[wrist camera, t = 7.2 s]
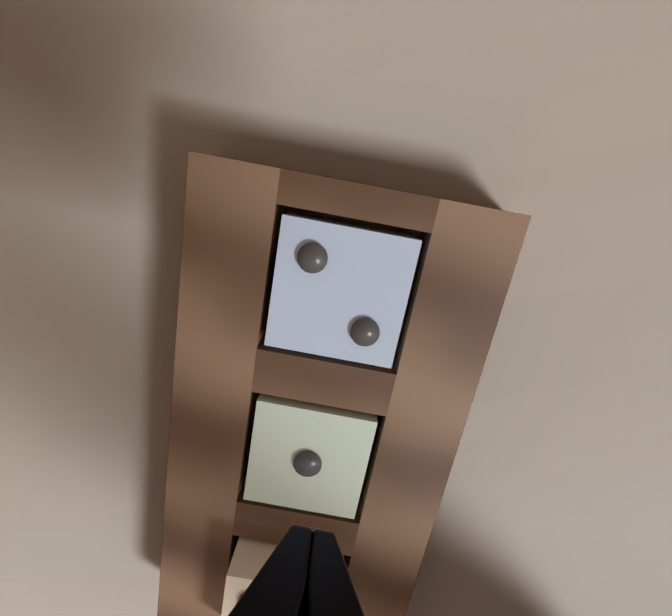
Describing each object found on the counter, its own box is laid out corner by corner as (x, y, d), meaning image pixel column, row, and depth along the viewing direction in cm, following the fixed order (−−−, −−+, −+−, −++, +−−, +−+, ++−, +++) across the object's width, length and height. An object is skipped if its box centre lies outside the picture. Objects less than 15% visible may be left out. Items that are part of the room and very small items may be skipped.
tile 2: (386, 348, 17) (391, 370, 15) (274, 328, 17) (263, 346, 15) (414, 234, 16) (422, 241, 14) (290, 211, 16) (281, 214, 14)
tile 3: (325, 629, 20) (322, 679, 18) (229, 612, 20) (214, 660, 18) (344, 554, 19) (342, 599, 16) (239, 535, 18) (225, 578, 16)
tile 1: (354, 487, 19) (354, 522, 17) (254, 468, 19) (242, 502, 17) (374, 398, 18) (377, 424, 16) (267, 378, 18) (255, 402, 16)
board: (384, 617, 23) (387, 668, 20) (177, 580, 22) (156, 627, 20) (504, 212, 16) (531, 215, 14) (213, 157, 16) (188, 150, 13)
